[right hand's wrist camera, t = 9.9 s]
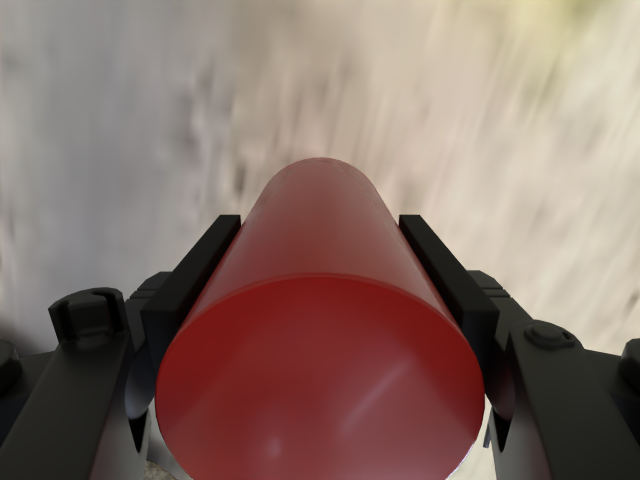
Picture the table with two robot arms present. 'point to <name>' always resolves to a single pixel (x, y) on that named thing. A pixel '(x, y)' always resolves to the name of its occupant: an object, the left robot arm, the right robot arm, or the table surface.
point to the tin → (319, 347)
